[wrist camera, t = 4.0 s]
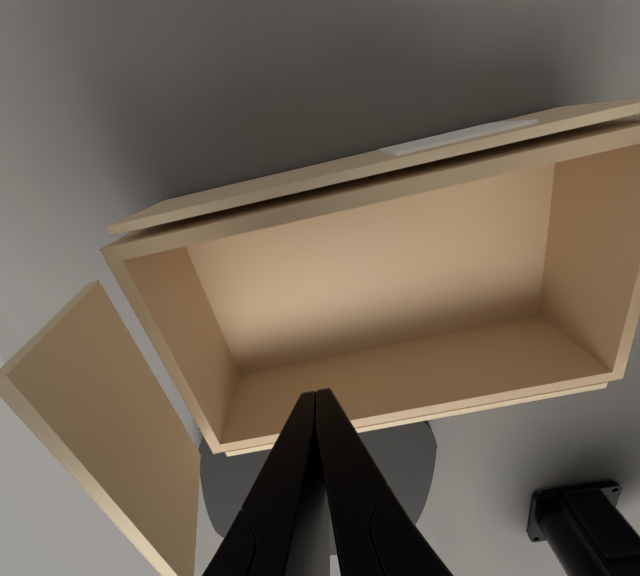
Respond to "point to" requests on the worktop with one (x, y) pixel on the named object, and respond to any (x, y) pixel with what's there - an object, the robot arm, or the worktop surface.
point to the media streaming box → (401, 475)
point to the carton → (399, 277)
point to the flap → (110, 426)
